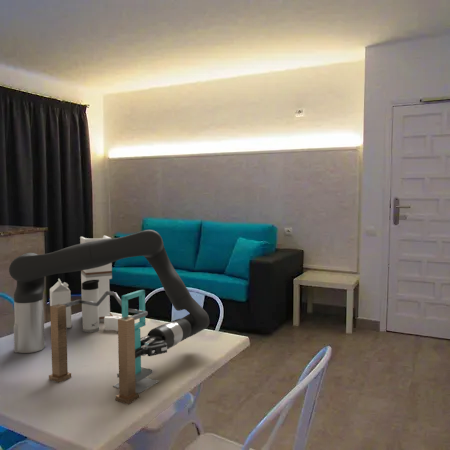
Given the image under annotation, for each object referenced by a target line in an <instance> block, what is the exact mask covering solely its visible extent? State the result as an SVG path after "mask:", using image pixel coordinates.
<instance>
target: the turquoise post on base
mask: <svg viewBox="0 0 450 450" xmlns="http://www.w3.org/2000/svg"><path fill="white" fill-rule="evenodd" d="M134 298H138V304H139V305H138V306H139V307H138V310H141V311H146V289H139V290H136V291H133V292H130V293H127V294H123V295H121V301H122V307H121V317H122V318H123V317H129V312H128V308H129V300H132V299H134ZM146 325H147V324H146V316H144V317H142V318H139V321H138V322H136V323H135V349H137V348H141V338H142V336H141V328H142V327H145V326H146ZM153 370H154V369H150V368H146V367H142V356H139V357H137V358H135V382H136V383H137V382H138V381H140V380H142V379H144V378H145V377H146V378H148V377H149V376H150V375H153V374H154V373H153V372H154V371H153ZM116 375H117V377H116V378H118V379H119V372H118V373H116Z"/></svg>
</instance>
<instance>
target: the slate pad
mask: <svg viewBox="0 0 450 450" xmlns="http://www.w3.org/2000/svg"><path fill="white" fill-rule="evenodd" d="M159 382H160V381H159V380H158V379H157V380H156V379H153V378H150V377H145V378H144V379H142V380H140V381H138V382H137V383H136V392H137V393H139V394H141V393H142V392H144V391H146V390H147V389H149V388H151V387H152V386H155V384H158V383H159ZM112 387H113V388H116V389H119V382H117V383H115V384H114V385H112Z"/></svg>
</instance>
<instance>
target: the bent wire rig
mask: <svg viewBox="0 0 450 450" xmlns="http://www.w3.org/2000/svg"><path fill="white" fill-rule="evenodd" d="M107 295H110V296H113V297H114V298H115V299H116V302H117V303H118V304H119V306H120V307H121V308H122V298H120V296H119V295H118V293H117V292H114V291H111V290H109V291H106V292H105V293H104V295H103V296H102V297H101V298H100V299H99V301H98V302H97V303H96V302H90V301H84V300H82V299H76V300H71V302H68V303H64V304H57V305H53V306H50V305H49V311H50V341H51V342H50V344H51V374H49V375H48V380H49V381H53V382H55V383H59V384H60V383H62V382H64V381H66V380H68V379H70V378H72V372H68V371H69V370H68V369H69V368H68V345H67V344H68V339H67V336H68V335H67V328H66V307H69V306H71V307H72V306H75V305H79V304H81V305H82V304H87V305H93V306H99V305H100V304H101V302H102V301H103V300H104V299H105V298H106V296H107ZM128 313H132V315H131V316H128V317H123V318H120V319H118V331H117V343H118V346H117V347H118V348H117V349H118V373H119V378H118V383H119V388H118V394H117V395H115V397H114V398H115V401H116V402H119V403H123V404H125V405H130V404H132V403H133V402H135V401H137V400H138V399H140V398H141V397H140V393H137V392H136V382H135V321H136V320H138V319H139V318H142V317H144V316H145V317H146V316H148V314H149V313H148V311H147V310H145V311H141V310H139V309H136V308H129V307H128ZM133 314H134V315H133Z"/></svg>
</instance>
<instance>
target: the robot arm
mask: <svg viewBox="0 0 450 450" xmlns="http://www.w3.org/2000/svg"><path fill="white" fill-rule="evenodd" d="M133 257H144V258H145V259H146V260H147V261H148V263H149V264H150V265H151V267H152V268H153V270H154V272H155V273H156V275H157V277H158V279H159V281H160V284H161V286H162V288H163V290H164V291H165V294H166V295H167V298H168V300H169V301H170V302H171V304H172V306H173V308H174V310H176V311H180V312H181V311H183V310H184V311H187V313H188V314H186V315H185V316H183V317H181V318H177V319H174V320H172V321H170V322H165V323H164V324H161V325H159V326H156V327H154V328H152V329H150V330H149V331H148V333H147V334H146V336H143V337H142V336H141V348H137V349H135V358H137V357H139V356H141V357H142V356H143V357H145V356H146V355H147V357H152V356H156V355H162V354H165V353H168V350H169V349H171V348H173V347H175V346H176V345H177V344H179V343H180V342H182V341H185V340H187V339H188V338H191V337H193V336H195V335H196V334H198V333H200V332H202V331H203V330H205V329H207V328H208V327H209V326H210V318H209V316H210V315H209V314H208V312H207V311H206V310H205V309H204V308H203V307H202V306H201V304H200V303H198V302H197V301H196V300H195V299H194V298H193V297H192V294H190V292H189V290H188V287H187V286H186V285H185V282H184V281H183V280H182V278H181V277H180V275H179V273H178V272H177V271H176V269H175V267H174V265H173V264H172V262H171V260H170V258H169V256H168V253H167V251H166V249H165V245H164V241H163V238H162V236H161V234H160V233H159V232H158V231H155V230H154V229H145V230H141V231H139V232H136V233H135V232H134V233H132V234H129V235H126V236H121V237H115V238H111V239H105V240H98V241H91V242H86V243H81V244H80V243H78V244H73V245H71V246H68V247H65V248H61V249H59V250H55V251H53V252H52V251H51V252H49V253H43V254H42V253H41V254H37V253H36V252H26V253H24V254H21V255H18V256H17V257H16V258H14V259H13V260H12V262H11V263H10V265H9V267H8V272H9V275H10V277H11V278H12V279H13V280H15V281H16V286H15V291H14V294H13V304H14V305H13V306H14V307H13V309H14V324H13V343H14V344H13V348H14V353H16V354H17V353H20V354H31V353H36V352H40V351H42V350H44V349H45V348H46V347H45V346H46V344H45V341H46V340H45V313H44V312H45V311H44V309H45V308H44V292H45V284H46V283H45V281H46V280H45V277H49V276H52V275H57V274H64V273H65V274H66V273H73V272H81V270H87V269H92V268H97V267H101V266H104V265H107V264H110V263H112V264H113V263H114V262H116V261H119V260H120V261H121V260H123V259H128V258H133Z"/></svg>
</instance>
